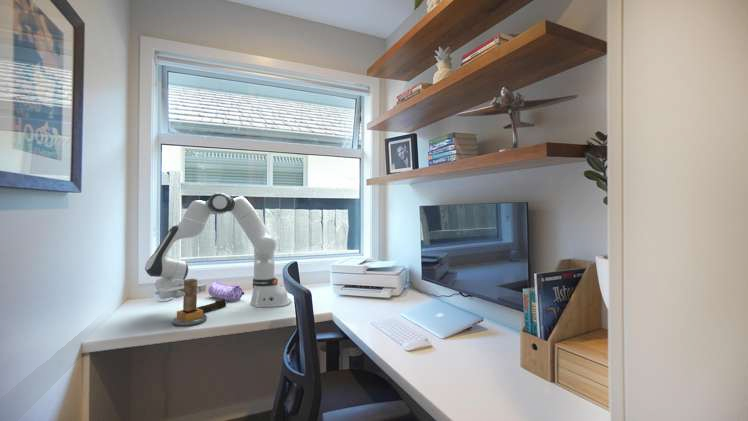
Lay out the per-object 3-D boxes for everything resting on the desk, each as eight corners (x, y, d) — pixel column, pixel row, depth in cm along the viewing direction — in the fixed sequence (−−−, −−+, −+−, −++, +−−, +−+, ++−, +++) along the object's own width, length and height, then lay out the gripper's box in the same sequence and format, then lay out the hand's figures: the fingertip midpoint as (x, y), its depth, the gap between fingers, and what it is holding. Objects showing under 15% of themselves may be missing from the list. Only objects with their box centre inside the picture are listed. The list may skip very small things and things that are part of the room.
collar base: (197, 315, 161) (197, 305, 161) (212, 320, 154) (212, 310, 154) (166, 322, 150) (166, 311, 150) (181, 328, 142) (181, 317, 142)
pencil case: (244, 300, 191) (244, 283, 192) (231, 303, 183) (231, 286, 183) (219, 295, 202) (220, 279, 202) (205, 298, 194) (206, 282, 194)
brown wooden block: (191, 308, 154) (192, 278, 155) (196, 309, 152) (197, 279, 152) (183, 309, 151) (184, 279, 151) (187, 311, 149) (188, 280, 149)
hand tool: (195, 316, 160) (196, 307, 160) (190, 315, 162) (191, 305, 162) (229, 307, 176) (229, 298, 176) (224, 306, 178) (224, 297, 178)
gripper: (153, 285, 151) (167, 289, 143) (197, 278, 167) (212, 282, 160) (152, 299, 150) (166, 304, 143) (197, 291, 167) (212, 295, 160)
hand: (191, 292), depth 151 cm, fingers closed on brown wooden block, 4 cm apart
